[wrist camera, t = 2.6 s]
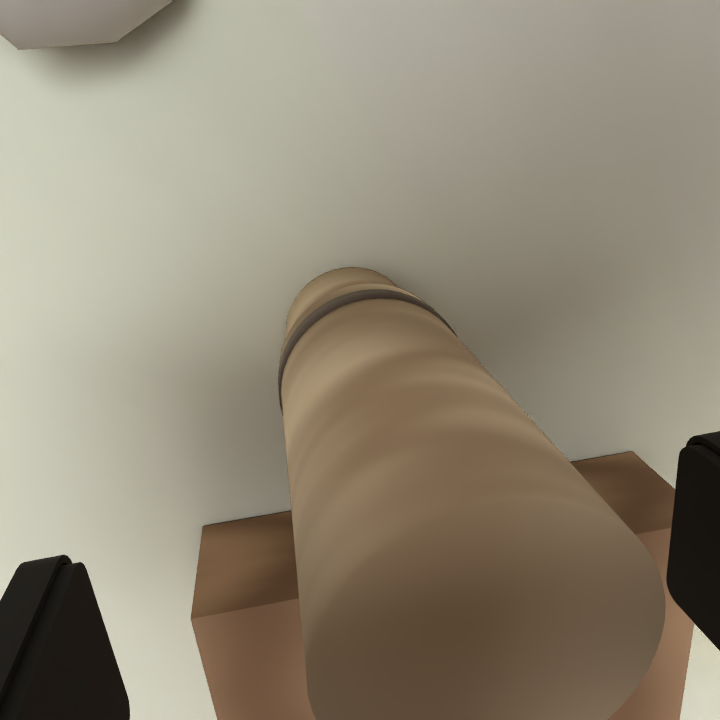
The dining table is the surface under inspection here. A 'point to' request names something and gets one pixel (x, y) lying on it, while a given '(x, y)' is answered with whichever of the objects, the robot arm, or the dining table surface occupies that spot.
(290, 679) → the board
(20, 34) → the tube
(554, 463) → the peg
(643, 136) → the dining table surface
